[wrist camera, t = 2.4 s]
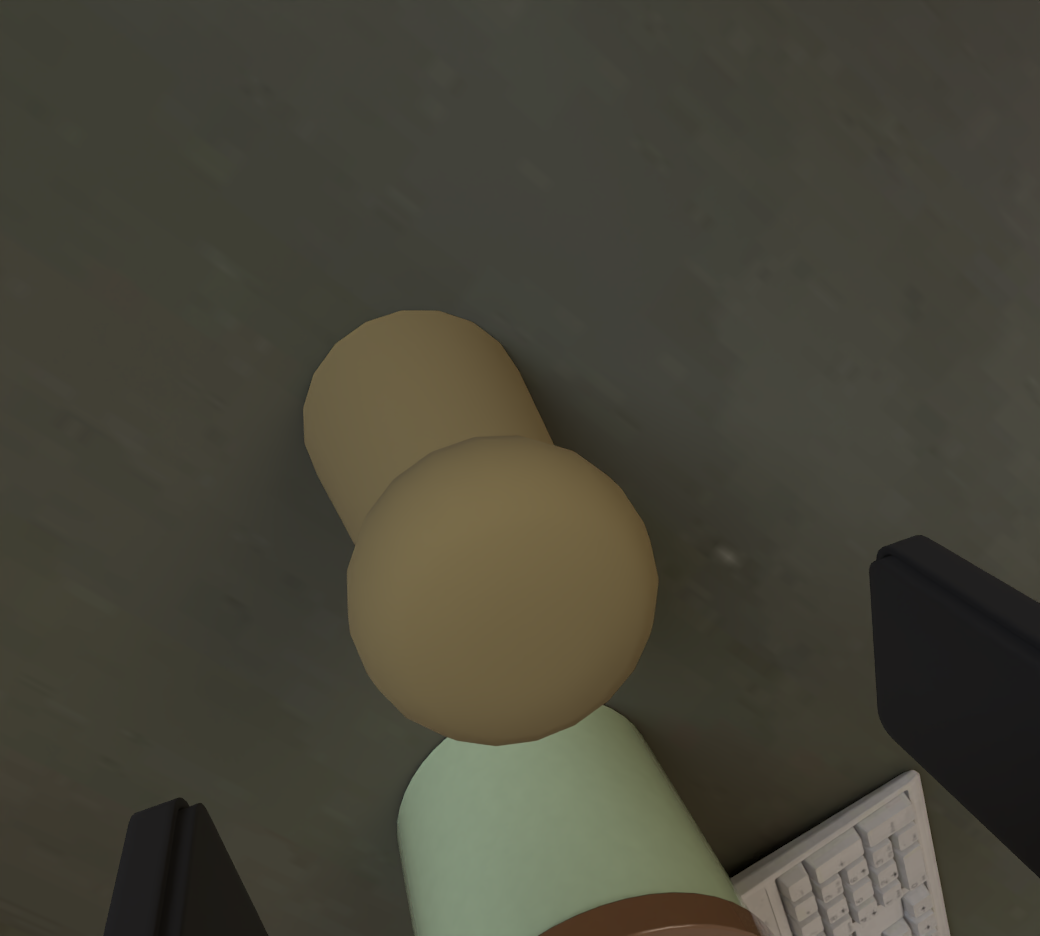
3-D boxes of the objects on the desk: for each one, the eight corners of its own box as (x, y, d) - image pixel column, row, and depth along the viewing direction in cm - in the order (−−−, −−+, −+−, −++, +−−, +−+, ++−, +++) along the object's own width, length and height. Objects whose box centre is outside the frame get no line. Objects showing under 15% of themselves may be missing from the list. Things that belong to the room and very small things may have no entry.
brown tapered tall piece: (251, 427, 21) (231, 677, 12) (420, 258, 21) (550, 367, 11) (417, 565, 24) (517, 864, 14) (570, 417, 24) (783, 619, 14)
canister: (328, 827, 26) (352, 1131, 18) (557, 637, 26) (684, 860, 18) (506, 954, 31) (589, 1248, 23) (706, 791, 30) (863, 1029, 22)
